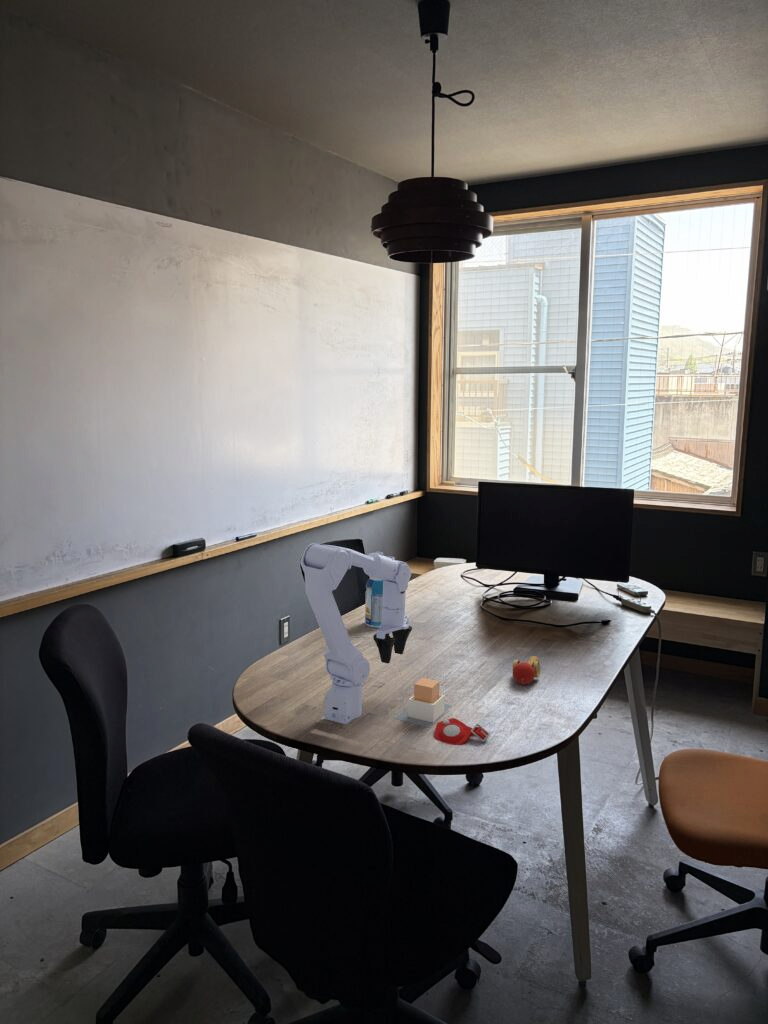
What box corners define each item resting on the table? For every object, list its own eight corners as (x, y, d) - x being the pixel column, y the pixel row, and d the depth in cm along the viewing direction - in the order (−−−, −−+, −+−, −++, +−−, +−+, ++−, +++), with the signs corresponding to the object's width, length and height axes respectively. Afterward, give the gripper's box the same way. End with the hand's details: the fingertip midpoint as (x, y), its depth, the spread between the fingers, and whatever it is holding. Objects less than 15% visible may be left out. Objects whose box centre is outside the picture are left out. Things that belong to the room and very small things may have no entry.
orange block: (431, 705, 180) (432, 687, 179) (413, 701, 182) (414, 684, 181) (438, 698, 184) (439, 681, 183) (421, 695, 186) (422, 677, 185)
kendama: (517, 667, 222) (504, 680, 205) (523, 647, 221) (510, 658, 205) (543, 676, 219) (532, 690, 203) (549, 656, 219) (538, 668, 202)
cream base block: (433, 722, 179) (433, 705, 178) (408, 716, 182) (408, 699, 181) (444, 712, 185) (444, 695, 184) (419, 706, 188) (420, 689, 187)
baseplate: (429, 730, 177) (429, 727, 177) (394, 721, 181) (394, 718, 181) (452, 708, 189) (452, 705, 189) (419, 701, 193) (419, 698, 193)
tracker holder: (440, 747, 167) (426, 718, 175) (442, 762, 169) (428, 733, 177) (492, 731, 169) (475, 704, 178) (493, 746, 171) (477, 718, 180)
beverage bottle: (381, 630, 249) (382, 570, 245) (359, 625, 253) (360, 566, 250) (394, 623, 256) (396, 565, 252) (373, 619, 260) (374, 562, 257)
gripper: (395, 616, 183) (393, 669, 186) (420, 602, 196) (418, 652, 198) (369, 611, 187) (368, 664, 189) (395, 598, 199) (394, 647, 202)
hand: (392, 657), depth 194 cm, fingers open, 7 cm apart
